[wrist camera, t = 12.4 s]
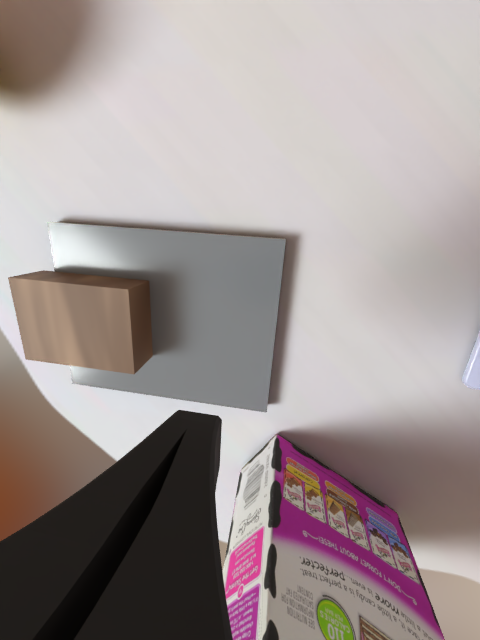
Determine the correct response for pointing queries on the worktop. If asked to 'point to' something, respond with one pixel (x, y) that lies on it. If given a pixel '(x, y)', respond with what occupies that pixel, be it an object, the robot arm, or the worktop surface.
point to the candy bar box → (318, 558)
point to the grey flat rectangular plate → (188, 308)
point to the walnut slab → (84, 320)
